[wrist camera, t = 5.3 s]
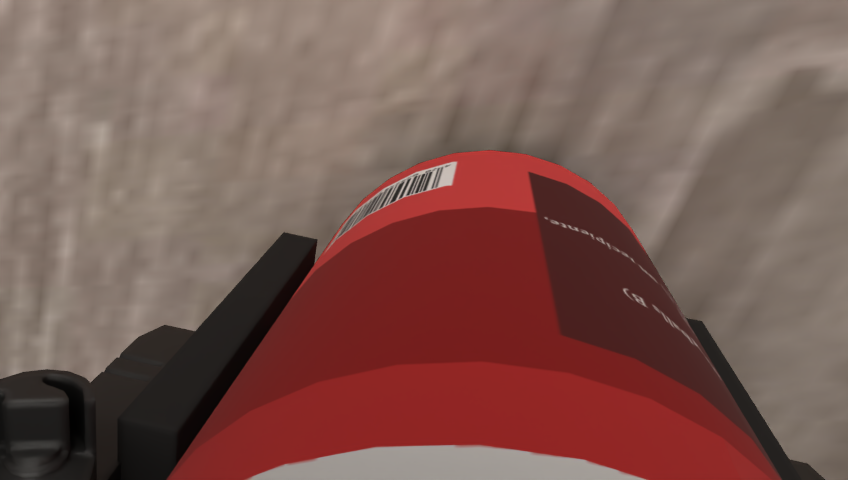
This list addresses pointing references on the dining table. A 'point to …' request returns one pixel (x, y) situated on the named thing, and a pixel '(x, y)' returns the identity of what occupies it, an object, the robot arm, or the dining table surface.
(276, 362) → the canned food
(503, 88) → the dining table surface
